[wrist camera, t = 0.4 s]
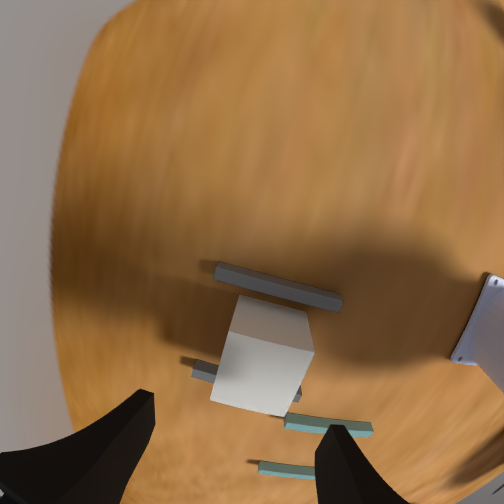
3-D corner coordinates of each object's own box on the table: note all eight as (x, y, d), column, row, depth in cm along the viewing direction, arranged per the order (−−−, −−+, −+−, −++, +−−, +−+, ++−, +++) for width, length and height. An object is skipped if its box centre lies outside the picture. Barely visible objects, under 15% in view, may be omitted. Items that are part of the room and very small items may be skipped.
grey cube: (305, 311, 19) (315, 352, 14) (282, 369, 20) (284, 416, 15) (239, 294, 19) (228, 331, 14) (222, 354, 20) (209, 400, 15)
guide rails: (432, 317, 18) (439, 324, 17) (331, 472, 23) (332, 480, 22) (219, 261, 18) (215, 266, 17) (179, 445, 23) (176, 454, 22)
